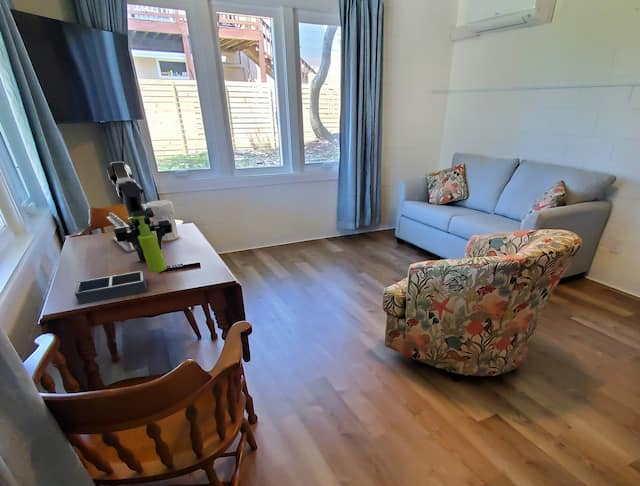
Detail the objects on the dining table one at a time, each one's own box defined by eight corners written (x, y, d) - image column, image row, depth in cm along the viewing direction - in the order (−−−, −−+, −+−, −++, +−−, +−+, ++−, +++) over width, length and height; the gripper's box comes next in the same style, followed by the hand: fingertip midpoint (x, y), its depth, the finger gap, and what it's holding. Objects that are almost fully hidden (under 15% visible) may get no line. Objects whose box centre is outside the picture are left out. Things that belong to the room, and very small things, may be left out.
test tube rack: (137, 250, 183) (127, 221, 176) (126, 252, 181) (117, 223, 174) (123, 237, 199) (114, 210, 192) (113, 239, 197) (104, 212, 190)
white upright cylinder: (175, 242, 191) (165, 205, 182) (152, 242, 192) (141, 206, 182) (184, 235, 201) (175, 199, 192) (162, 235, 201) (152, 200, 192)
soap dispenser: (150, 266, 151) (131, 214, 140) (168, 265, 151) (151, 213, 140) (144, 272, 147) (124, 219, 135) (163, 272, 147) (144, 218, 135)
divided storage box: (82, 291, 146) (77, 281, 144) (145, 280, 154) (142, 270, 152) (79, 304, 138) (74, 293, 135) (146, 291, 146) (143, 281, 143)
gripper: (104, 204, 134) (120, 245, 132) (163, 196, 143) (178, 234, 141) (110, 222, 144) (124, 260, 142) (164, 213, 153) (178, 249, 151)
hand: (151, 250), depth 144 cm, fingers closed on soap dispenser, 6 cm apart
